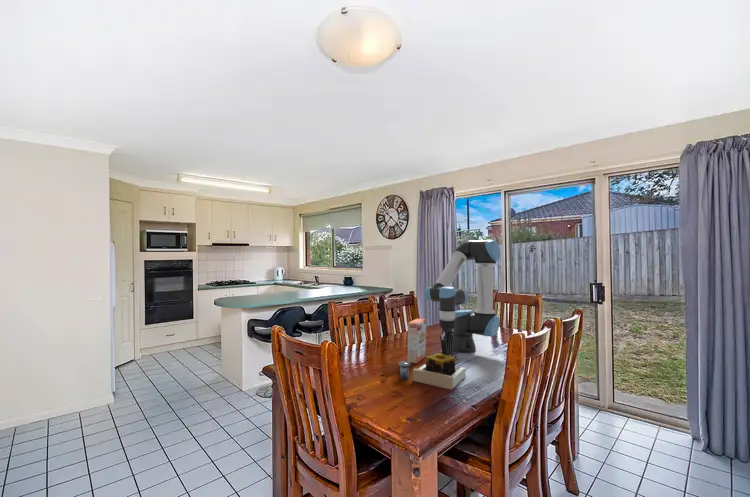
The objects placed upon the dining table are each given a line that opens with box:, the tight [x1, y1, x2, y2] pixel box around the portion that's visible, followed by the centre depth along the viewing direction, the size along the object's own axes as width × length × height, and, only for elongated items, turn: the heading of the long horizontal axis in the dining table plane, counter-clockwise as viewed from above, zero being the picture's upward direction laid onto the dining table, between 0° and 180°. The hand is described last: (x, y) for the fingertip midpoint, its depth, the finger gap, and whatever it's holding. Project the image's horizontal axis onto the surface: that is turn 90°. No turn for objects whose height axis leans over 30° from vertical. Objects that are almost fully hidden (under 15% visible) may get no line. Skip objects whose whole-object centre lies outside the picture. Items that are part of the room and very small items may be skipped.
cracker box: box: [407, 318, 427, 364], centre depth 186 cm, size 14×6×21 cm, turn 154°
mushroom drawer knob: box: [398, 360, 412, 380], centre depth 160 cm, size 6×6×7 cm
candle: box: [425, 352, 457, 376], centre depth 158 cm, size 10×10×10 cm
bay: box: [412, 363, 466, 390], centre depth 159 cm, size 18×18×5 cm
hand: (447, 368), depth 166 cm, fingers closed
